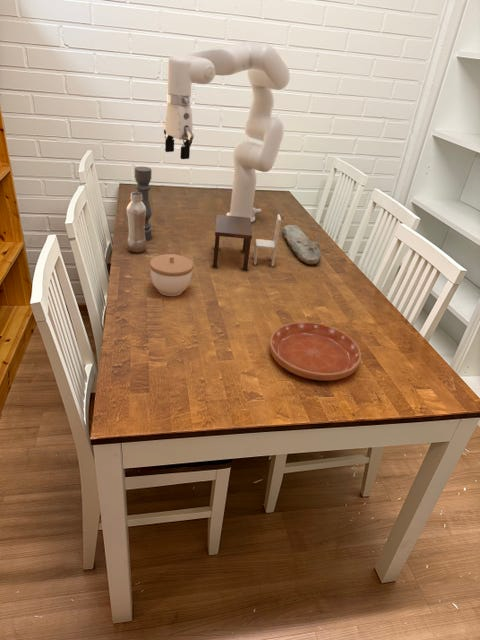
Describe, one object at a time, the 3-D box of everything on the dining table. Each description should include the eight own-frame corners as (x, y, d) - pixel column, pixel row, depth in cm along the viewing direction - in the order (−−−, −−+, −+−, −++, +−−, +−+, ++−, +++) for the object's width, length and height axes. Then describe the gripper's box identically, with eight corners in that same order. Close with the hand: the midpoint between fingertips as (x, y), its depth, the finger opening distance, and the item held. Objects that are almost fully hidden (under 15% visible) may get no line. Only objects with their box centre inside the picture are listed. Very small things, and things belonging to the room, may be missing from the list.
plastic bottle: (150, 250, 166) (150, 193, 156) (138, 256, 161) (138, 198, 150) (134, 245, 168) (134, 189, 158) (123, 251, 163) (121, 193, 152)
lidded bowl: (174, 277, 151) (175, 244, 145) (200, 293, 143) (202, 259, 138) (140, 287, 142) (140, 253, 137) (166, 305, 135) (167, 270, 130)
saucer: (295, 394, 108) (298, 381, 106) (253, 339, 125) (255, 327, 123) (376, 376, 117) (380, 364, 115) (326, 327, 134) (329, 316, 132)
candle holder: (154, 236, 177) (155, 168, 164) (146, 242, 172) (146, 172, 159) (139, 233, 178) (139, 165, 165) (130, 238, 173) (130, 168, 160)
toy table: (246, 251, 175) (250, 217, 168) (247, 271, 160) (252, 235, 154) (214, 247, 174) (217, 214, 167) (212, 267, 159) (215, 231, 153)
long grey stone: (299, 233, 200) (276, 234, 198) (301, 221, 197) (277, 221, 195) (326, 266, 170) (299, 266, 168) (328, 252, 167) (301, 252, 165)
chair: (272, 259, 171) (279, 214, 162) (273, 266, 165) (281, 220, 157) (253, 257, 170) (259, 212, 161) (253, 264, 165) (260, 218, 156)
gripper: (203, 105, 149) (200, 161, 158) (174, 96, 160) (173, 148, 169) (183, 105, 145) (181, 162, 154) (155, 95, 156) (154, 149, 165)
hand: (177, 155), depth 162 cm, fingers open, 9 cm apart
